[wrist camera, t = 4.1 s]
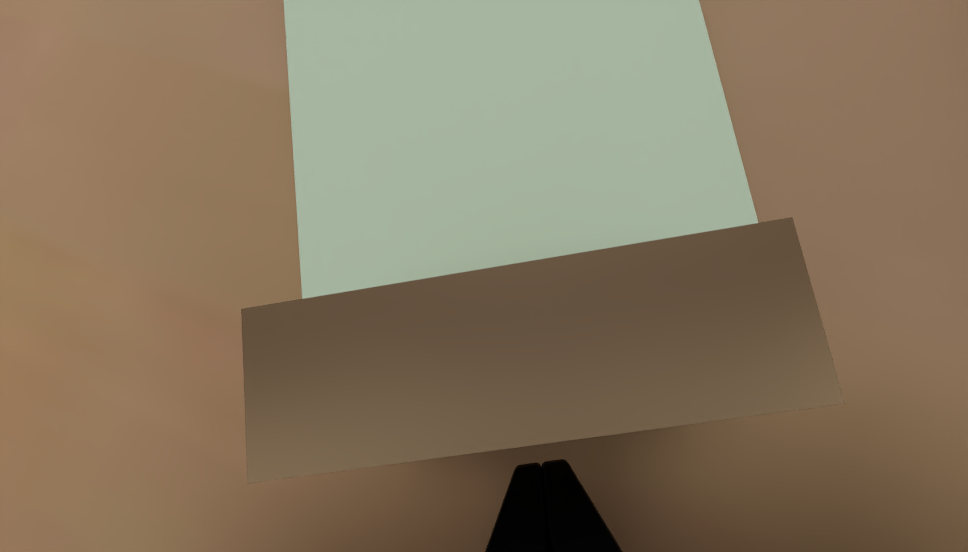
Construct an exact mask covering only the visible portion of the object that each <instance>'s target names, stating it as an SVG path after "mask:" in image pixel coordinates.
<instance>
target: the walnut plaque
mask: <svg viewBox="0 0 968 552" xmlns="http://www.w3.org/2000/svg"><path fill="white" fill-rule="evenodd" d="M241 314H242V342H243V370H244V398H245V426H246V455H247V483H255V482H263V481H270V480H278V479H285V478H293V477H300V476H308V475H315V474H323V473H330V472H338V471H345V470H353V469H360V468H368V467H375V466H382V465H390V464H397V463H405V462H412V461H420V460H427V459H435V458H442V457H450V456H457V455H465V454H472V453H480V452H487V451H495V450H502V449H510V448H517V447H525V446H532V445H540V444H547V443H555V442H562V441H570V440H577V439H584V438H592V437H599V436H607V435H614V434H622V433H629V432H637V431H644V430H652V429H659V428H667V427H674V426H682V425H689V424H697V423H704V422H712V421H719V420H727V419H734V418H742V417H749V416H757V415H764V414H772V413H779V412H786V411H794V410H801V409H809V408H816V407H824V406H831V405H839V404H845V403H844V399H843V395H842V392H841V388H840V385H839V381H838V378H837V374H836V371H835V367H834V364H833V360H832V356H831V353H830V349H829V346H828V342H827V339H826V335H825V332H824V328H823V325H822V321H821V318H820V314H819V310H818V307H817V303H816V300H815V296H814V293H813V289H812V286H811V282H810V279H809V275H808V272H807V268H806V264H805V261H804V257H803V254H802V250H801V247H800V243H799V240H798V236H797V233H796V229H795V226H794V222H793V218H792V217H791V218H785V219H779V220H773V221H767V222H761V223H755V224H749V225H743V226H737V227H731V228H725V229H719V230H713V231H707V232H701V233H695V234H689V235H683V236H677V237H671V238H665V239H659V240H653V241H647V242H641V243H635V244H629V245H623V246H617V247H611V248H605V249H599V250H593V251H587V252H581V253H575V254H569V255H563V256H557V257H551V258H545V259H539V260H533V261H527V262H521V263H515V264H509V265H503V266H497V267H491V268H485V269H479V270H473V271H467V272H461V273H455V274H449V275H443V276H437V277H431V278H425V279H419V280H413V281H407V282H401V283H395V284H389V285H383V286H377V287H371V288H365V289H359V290H353V291H347V292H341V293H335V294H329V295H323V296H317V297H311V298H305V299H299V300H293V301H287V302H281V303H275V304H269V305H263V306H257V307H251V308H245V309H241Z"/></svg>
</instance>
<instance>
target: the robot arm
mask: <svg viewBox="0 0 968 552" xmlns="http://www.w3.org/2000/svg"><path fill="white" fill-rule="evenodd" d="M485 552H623V551H622V550H621V548H620V546H619V545H618V543H617V542H616V540H615V538H614V537H613V535H612V533H611V532H610V530H609V529H608V527H607V525H606V524H605V522H604V520H603V519H602V517H601V516H600V514H599V512H598V511H597V509H596V507H595V506H594V504H593V503H592V501H591V499H590V498H589V496H588V494H587V493H586V491H585V489H584V488H583V486H582V485H581V483H580V481H579V480H578V478H577V476H576V475H575V473H574V472H573V470H572V468H571V467H570V465H569V464H568V462H567V461H566V460H563V459H561V460H553V461H546V462H544V463H543V464H542V467H541V465H540V464H539V463H530V464H523V465H518V466H517V467H516V468H515V470H514V473H513V475H512V478H511V481H510V484H509V487H508V489H507V492H506V495H505V498H504V500H503V503H502V506H501V509H500V512H499V514H498V517H497V520H496V523H495V525H494V528H493V531H492V534H491V537H490V539H489V542H488V545H487V548H486V550H485Z"/></svg>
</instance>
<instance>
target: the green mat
mask: <svg viewBox="0 0 968 552" xmlns="http://www.w3.org/2000/svg"><path fill="white" fill-rule="evenodd" d="M284 12H285V28H286V44H287V60H288V76H289V93H290V109H291V125H292V141H293V157H294V173H295V189H296V205H297V221H298V237H299V253H300V269H301V285H302V299H305V298H311V297H317V296H323V295H329V294H335V293H341V292H347V291H353V290H359V289H365V288H371V287H377V286H383V285H389V284H395V283H401V282H407V281H413V280H419V279H425V278H431V277H437V276H443V275H449V274H455V273H461V272H467V271H473V270H479V269H485V268H491V267H497V266H503V265H509V264H515V263H521V262H527V261H533V260H539V259H545V258H551V257H557V256H563V255H569V254H575V253H581V252H587V251H593V250H599V249H605V248H611V247H617V246H623V245H629V244H635V243H641V242H647V241H653V240H659V239H665V238H671V237H677V236H683V235H689V234H695V233H701V232H707V231H713V230H719V229H725V228H731V227H737V226H743V225H749V224H755V223H758V220H757V216H756V212H755V208H754V205H753V201H752V197H751V193H750V190H749V186H748V182H747V178H746V175H745V171H744V167H743V163H742V160H741V156H740V152H739V148H738V145H737V141H736V137H735V134H734V130H733V126H732V122H731V119H730V115H729V111H728V107H727V104H726V100H725V96H724V92H723V89H722V85H721V81H720V77H719V74H718V70H717V66H716V62H715V59H714V55H713V51H712V47H711V44H710V40H709V36H708V32H707V29H706V25H705V21H704V17H703V14H702V10H701V6H700V2H699V0H284Z"/></svg>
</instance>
